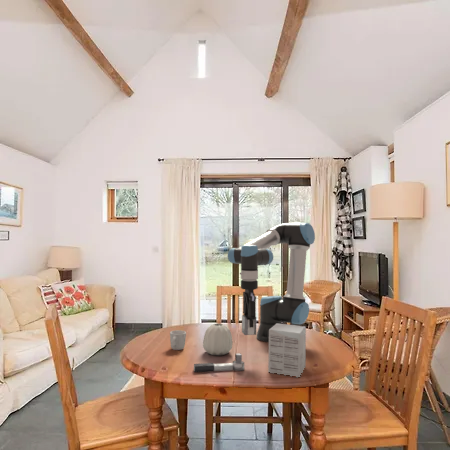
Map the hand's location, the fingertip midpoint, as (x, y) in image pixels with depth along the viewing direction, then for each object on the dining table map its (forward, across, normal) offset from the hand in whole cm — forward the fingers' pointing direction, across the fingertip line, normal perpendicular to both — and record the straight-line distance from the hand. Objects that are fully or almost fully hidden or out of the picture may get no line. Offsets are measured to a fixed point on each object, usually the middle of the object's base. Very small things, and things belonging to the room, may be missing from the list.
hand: (249, 332), depth 158 cm
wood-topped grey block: (0, 0, 0) cm, 0 cm away
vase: (+13, -14, -12) cm, 23 cm away
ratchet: (+13, +7, -14) cm, 21 cm away
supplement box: (+13, +12, +13) cm, 22 cm away
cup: (+13, -22, -30) cm, 40 cm away
